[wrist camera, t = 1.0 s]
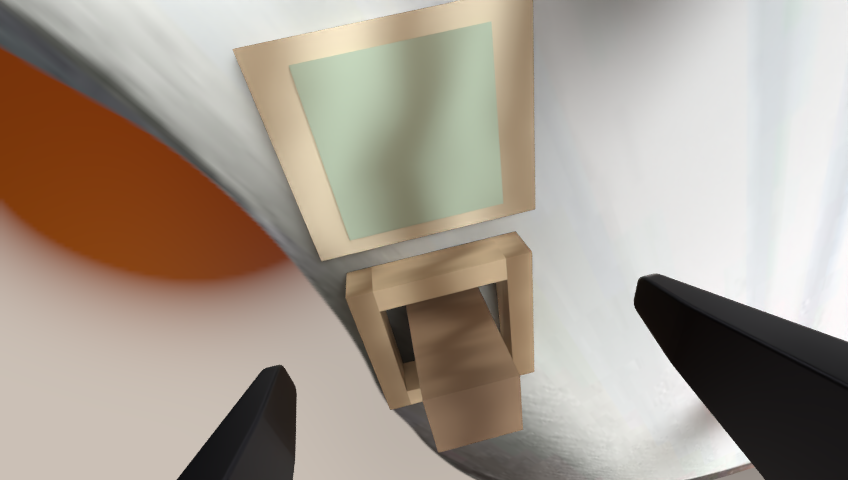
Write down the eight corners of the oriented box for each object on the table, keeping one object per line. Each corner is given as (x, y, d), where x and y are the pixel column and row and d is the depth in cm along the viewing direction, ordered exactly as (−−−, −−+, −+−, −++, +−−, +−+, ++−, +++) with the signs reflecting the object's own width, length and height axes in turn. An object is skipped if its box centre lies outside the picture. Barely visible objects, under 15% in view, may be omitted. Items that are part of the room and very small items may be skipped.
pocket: (515, 231, 23) (531, 251, 20) (520, 346, 28) (534, 371, 26) (346, 273, 22) (345, 298, 20) (387, 381, 28) (390, 410, 26)
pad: (523, -13, 16) (534, -16, 15) (528, 202, 22) (536, 210, 21) (239, 48, 15) (230, 49, 14) (322, 252, 21) (321, 263, 20)
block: (474, 279, 24) (519, 375, 17) (480, 329, 27) (522, 429, 20) (404, 296, 24) (422, 401, 17) (417, 345, 26) (438, 452, 20)
